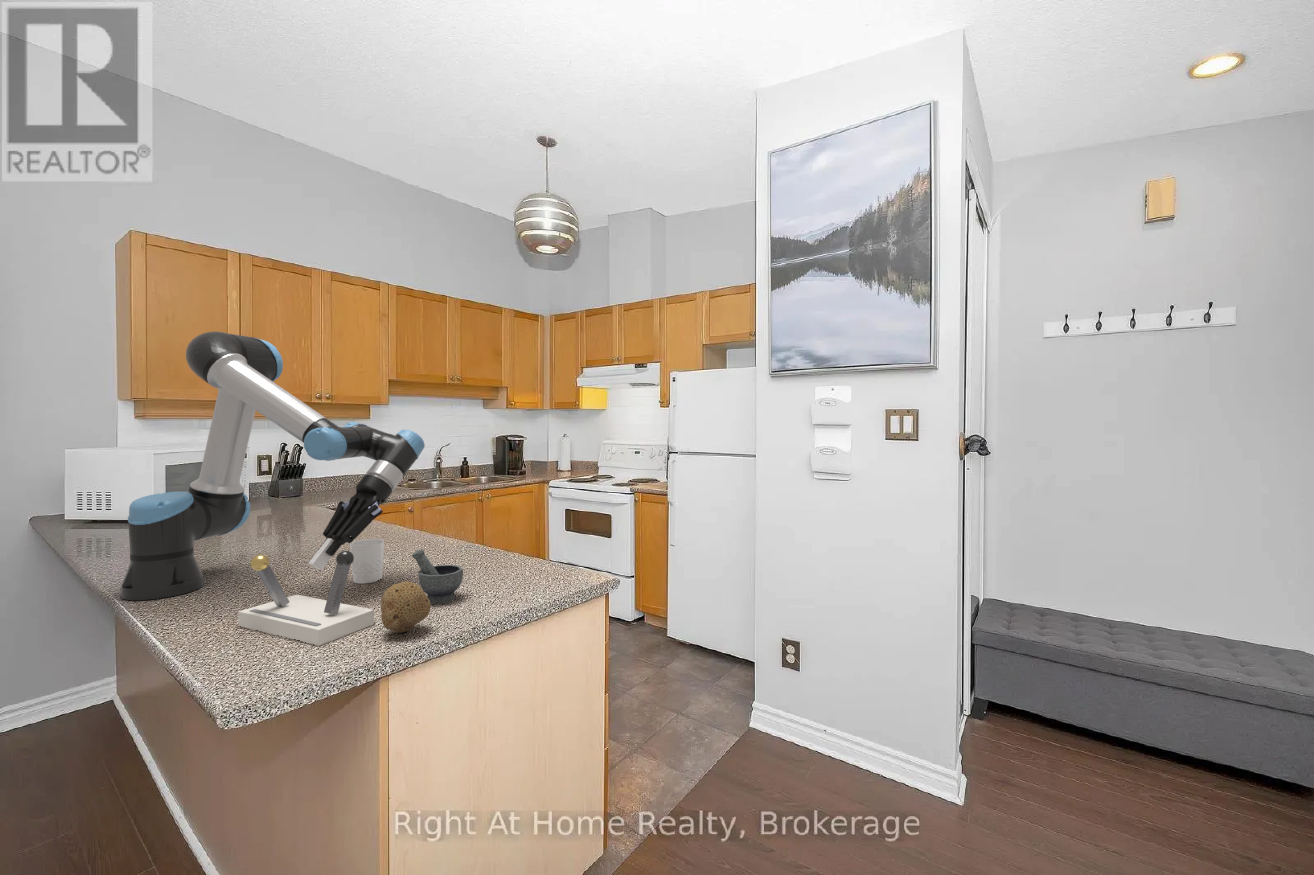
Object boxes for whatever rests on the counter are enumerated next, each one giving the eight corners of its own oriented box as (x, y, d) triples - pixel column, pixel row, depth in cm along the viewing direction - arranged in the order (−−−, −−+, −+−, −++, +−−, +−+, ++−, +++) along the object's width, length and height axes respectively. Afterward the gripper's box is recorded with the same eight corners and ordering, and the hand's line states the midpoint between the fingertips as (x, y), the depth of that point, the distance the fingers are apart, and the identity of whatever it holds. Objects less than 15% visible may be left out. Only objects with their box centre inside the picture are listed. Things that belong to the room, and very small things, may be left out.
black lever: (332, 612, 114) (348, 550, 117) (343, 614, 112) (359, 552, 116) (318, 611, 111) (334, 549, 114) (329, 614, 110) (345, 550, 113)
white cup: (390, 576, 150) (390, 539, 149) (372, 585, 142) (372, 546, 142) (362, 575, 151) (362, 538, 150) (343, 584, 143) (343, 545, 142)
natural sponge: (435, 622, 116) (434, 575, 116) (424, 639, 108) (424, 588, 107) (388, 625, 115) (388, 576, 115) (373, 642, 106) (373, 590, 106)
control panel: (296, 607, 125) (296, 593, 125) (374, 624, 115) (373, 608, 115) (238, 626, 114) (238, 610, 114) (318, 646, 104) (318, 628, 104)
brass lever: (285, 597, 119) (258, 550, 114) (295, 599, 118) (269, 552, 113) (271, 608, 116) (243, 560, 111) (281, 610, 115) (253, 562, 110)
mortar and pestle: (465, 592, 137) (465, 543, 136) (460, 604, 128) (459, 552, 127) (416, 594, 135) (416, 545, 134) (407, 607, 125) (406, 554, 125)
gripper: (407, 494, 138) (346, 579, 123) (370, 491, 143) (307, 572, 128) (388, 474, 133) (323, 560, 118) (350, 472, 138) (283, 554, 123)
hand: (315, 566), depth 123 cm, fingers closed
